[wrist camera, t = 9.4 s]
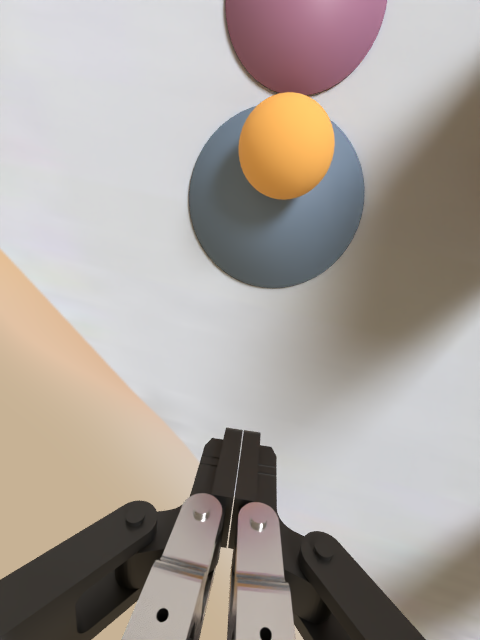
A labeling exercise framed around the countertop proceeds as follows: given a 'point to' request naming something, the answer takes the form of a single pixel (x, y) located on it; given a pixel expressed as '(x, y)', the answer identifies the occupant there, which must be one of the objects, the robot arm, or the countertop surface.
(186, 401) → the countertop surface
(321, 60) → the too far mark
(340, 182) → the blue-gray disc
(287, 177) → the ball
